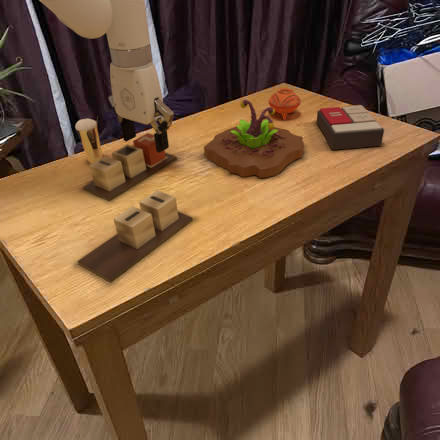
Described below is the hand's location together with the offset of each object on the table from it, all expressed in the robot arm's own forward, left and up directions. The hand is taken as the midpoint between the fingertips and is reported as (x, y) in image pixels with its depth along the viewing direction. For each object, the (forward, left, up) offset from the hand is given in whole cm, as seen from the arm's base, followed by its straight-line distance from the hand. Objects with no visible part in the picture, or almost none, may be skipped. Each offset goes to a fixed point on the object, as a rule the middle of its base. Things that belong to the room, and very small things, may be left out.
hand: (146, 144), depth 91 cm
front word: (+18, -22, -4) cm, 29 cm away
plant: (+17, +15, -4) cm, 23 cm away
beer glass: (-11, -6, -4) cm, 13 cm away
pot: (+12, +36, -4) cm, 39 cm away
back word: (0, -6, -4) cm, 7 cm away
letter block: (0, +1, -4) cm, 4 cm away
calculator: (+30, +34, -4) cm, 46 cm away
